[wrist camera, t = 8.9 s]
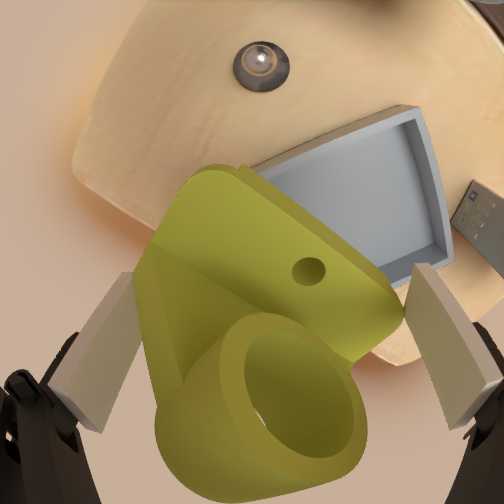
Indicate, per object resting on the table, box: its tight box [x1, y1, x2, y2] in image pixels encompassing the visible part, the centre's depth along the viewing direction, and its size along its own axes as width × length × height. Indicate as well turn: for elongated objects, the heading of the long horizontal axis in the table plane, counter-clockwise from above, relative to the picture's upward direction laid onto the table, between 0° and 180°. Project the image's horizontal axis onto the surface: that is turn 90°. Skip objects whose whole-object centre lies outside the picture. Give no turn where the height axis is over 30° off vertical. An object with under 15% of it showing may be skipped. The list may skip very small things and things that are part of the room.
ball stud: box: [234, 41, 290, 92], centre depth 24 cm, size 6×6×7 cm
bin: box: [250, 104, 455, 289], centre depth 32 cm, size 20×20×5 cm
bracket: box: [132, 164, 404, 504], centre depth 10 cm, size 11×6×10 cm, turn 54°
